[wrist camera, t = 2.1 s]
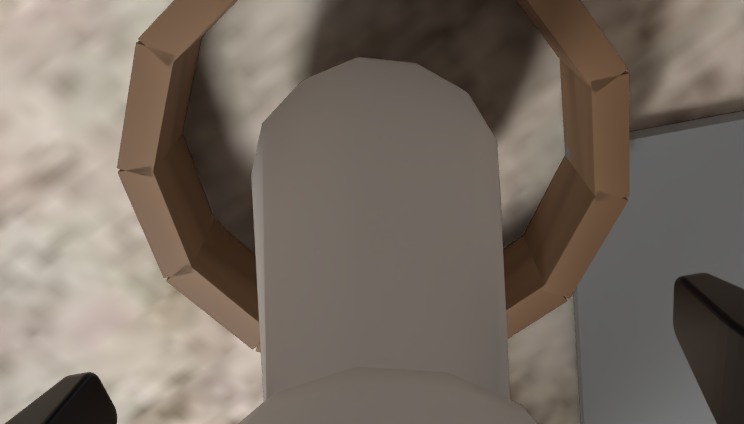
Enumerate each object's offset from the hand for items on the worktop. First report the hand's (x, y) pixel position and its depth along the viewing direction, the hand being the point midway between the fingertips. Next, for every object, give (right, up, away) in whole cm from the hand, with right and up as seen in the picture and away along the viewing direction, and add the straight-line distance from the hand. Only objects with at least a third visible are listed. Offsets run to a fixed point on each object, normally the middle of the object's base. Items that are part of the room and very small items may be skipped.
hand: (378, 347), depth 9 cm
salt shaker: (0, +4, +7) cm, 8 cm away
